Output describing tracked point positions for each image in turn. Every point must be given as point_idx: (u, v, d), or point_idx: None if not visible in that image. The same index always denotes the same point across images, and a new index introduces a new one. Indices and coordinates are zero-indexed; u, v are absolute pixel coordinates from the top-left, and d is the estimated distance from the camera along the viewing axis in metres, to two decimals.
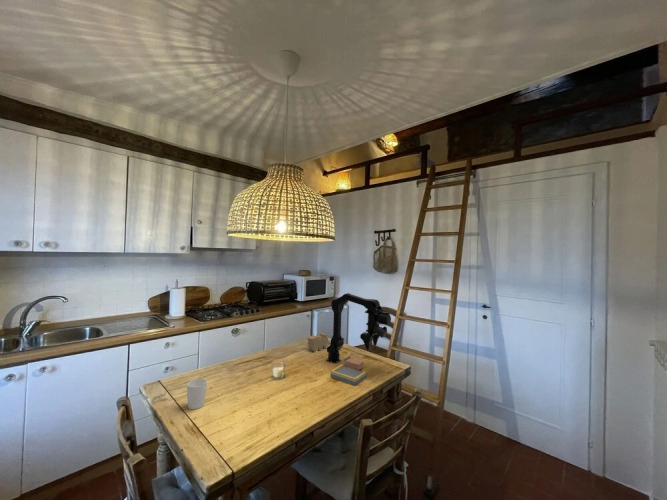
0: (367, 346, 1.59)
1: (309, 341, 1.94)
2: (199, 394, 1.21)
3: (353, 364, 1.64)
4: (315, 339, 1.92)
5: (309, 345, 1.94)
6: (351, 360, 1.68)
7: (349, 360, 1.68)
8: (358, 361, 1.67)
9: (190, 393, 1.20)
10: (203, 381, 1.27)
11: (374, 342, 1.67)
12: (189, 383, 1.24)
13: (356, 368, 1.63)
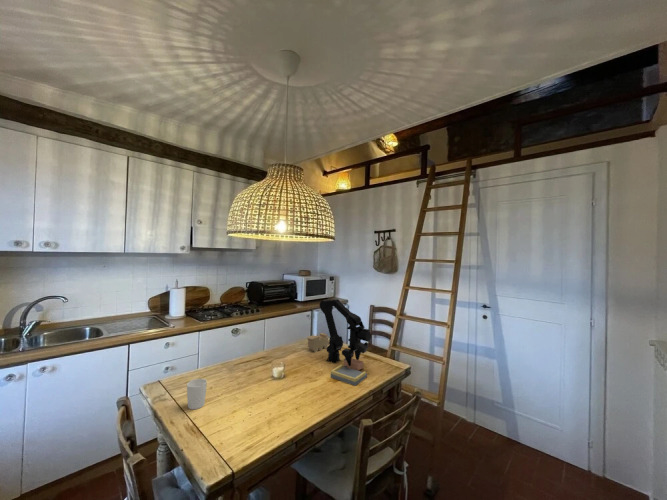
0: (349, 362, 1.63)
1: (309, 341, 1.94)
2: (199, 394, 1.21)
3: (353, 364, 1.64)
4: (315, 339, 1.92)
5: (309, 345, 1.94)
6: (351, 360, 1.68)
7: None
8: (358, 361, 1.67)
9: (190, 393, 1.20)
10: (203, 381, 1.27)
11: (356, 357, 1.72)
12: (189, 383, 1.24)
13: (356, 368, 1.63)
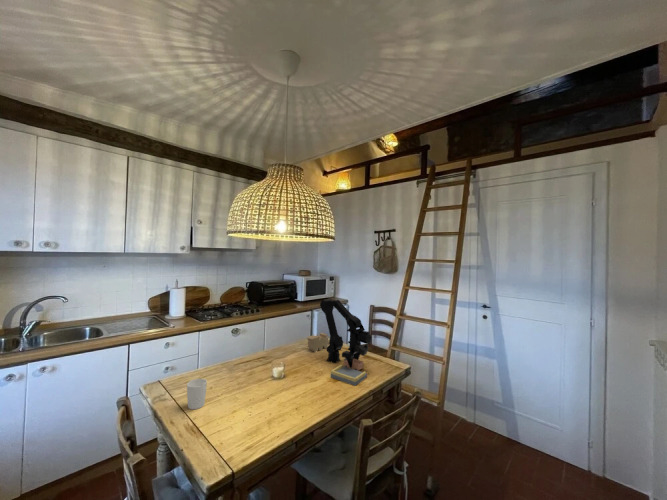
0: (350, 363, 1.65)
1: (309, 341, 1.94)
2: (199, 394, 1.21)
3: (353, 364, 1.64)
4: (315, 339, 1.92)
5: (309, 345, 1.94)
6: None
7: None
8: (358, 361, 1.67)
9: (190, 393, 1.20)
10: (203, 381, 1.27)
11: None
12: (189, 383, 1.24)
13: (356, 368, 1.63)
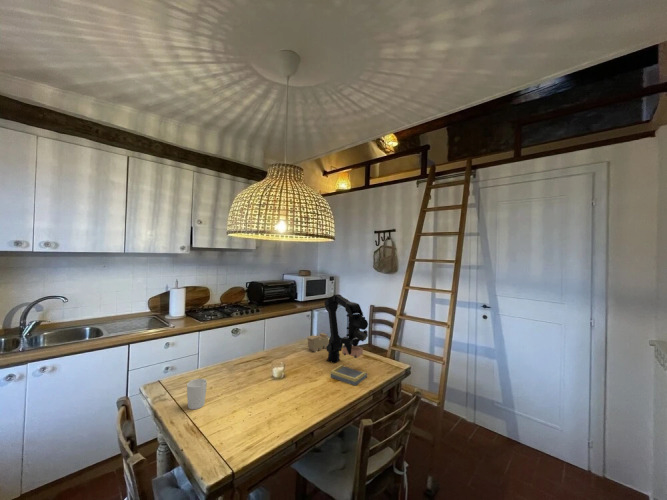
0: (349, 350, 1.58)
1: (309, 341, 1.94)
2: (199, 394, 1.21)
3: (352, 351, 1.58)
4: (315, 339, 1.92)
5: (309, 345, 1.94)
6: None
7: None
8: (357, 348, 1.61)
9: (190, 393, 1.20)
10: (203, 381, 1.27)
11: None
12: (189, 383, 1.24)
13: (355, 354, 1.57)
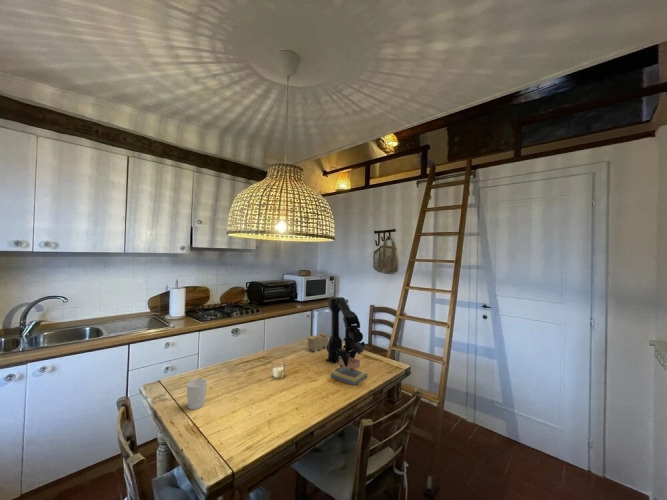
0: (345, 362, 1.52)
1: (309, 341, 1.94)
2: (199, 394, 1.21)
3: (349, 363, 1.52)
4: (315, 339, 1.92)
5: (309, 345, 1.94)
6: None
7: None
8: (354, 360, 1.55)
9: (190, 393, 1.20)
10: (203, 381, 1.27)
11: None
12: (189, 383, 1.24)
13: (352, 367, 1.51)
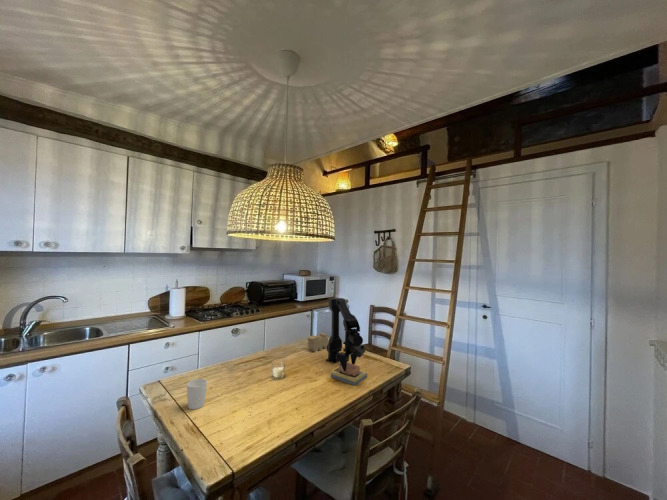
0: (344, 367, 1.51)
1: (309, 341, 1.94)
2: (199, 394, 1.21)
3: (349, 370, 1.52)
4: (315, 339, 1.92)
5: (309, 345, 1.94)
6: None
7: None
8: (354, 366, 1.55)
9: (190, 393, 1.20)
10: (203, 381, 1.27)
11: (352, 361, 1.60)
12: (189, 383, 1.24)
13: (352, 374, 1.51)
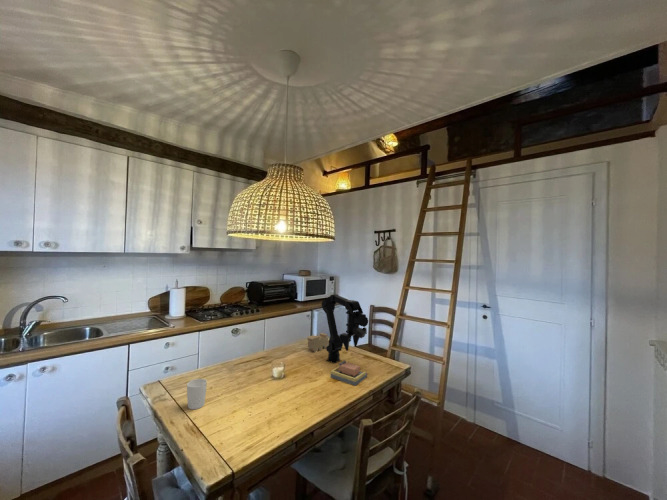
0: (346, 347, 1.61)
1: (309, 341, 1.94)
2: (199, 394, 1.21)
3: (349, 370, 1.52)
4: (315, 339, 1.92)
5: (309, 345, 1.94)
6: (346, 365, 1.56)
7: (344, 365, 1.56)
8: (354, 366, 1.55)
9: (190, 393, 1.20)
10: (203, 381, 1.27)
11: (354, 343, 1.69)
12: (189, 383, 1.24)
13: (352, 374, 1.51)
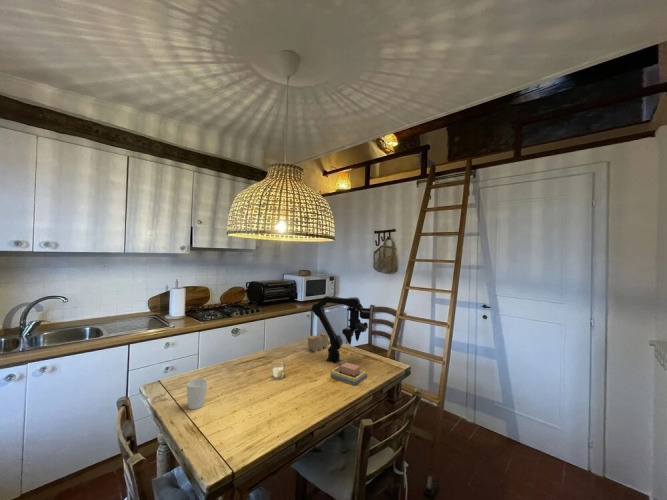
0: (349, 341, 1.71)
1: (309, 341, 1.94)
2: (199, 394, 1.21)
3: (349, 370, 1.52)
4: (315, 339, 1.92)
5: (309, 345, 1.94)
6: (346, 365, 1.56)
7: (344, 365, 1.56)
8: (354, 366, 1.55)
9: (190, 393, 1.20)
10: (203, 381, 1.27)
11: (356, 337, 1.79)
12: (189, 383, 1.24)
13: (352, 374, 1.51)
